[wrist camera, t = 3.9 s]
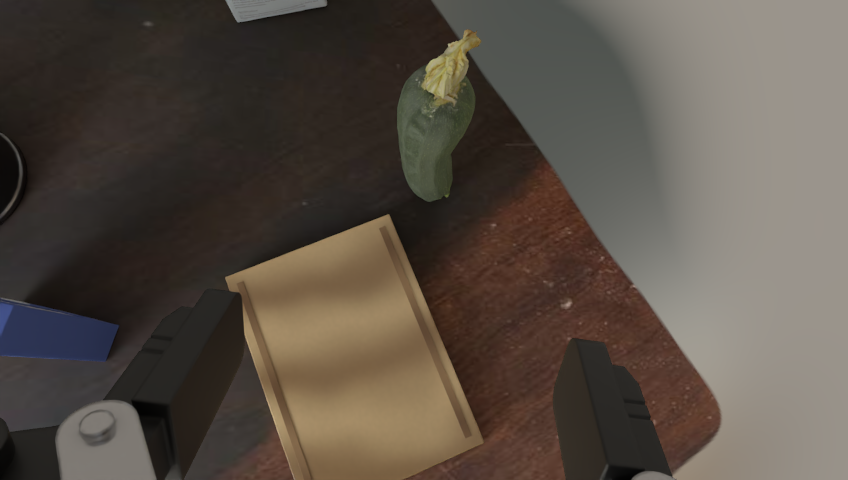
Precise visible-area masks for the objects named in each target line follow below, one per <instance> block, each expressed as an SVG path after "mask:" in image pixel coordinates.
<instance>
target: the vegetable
mask: <svg viewBox="0 0 848 480" xmlns="http://www.w3.org/2000/svg"><path fill="white" fill-rule="evenodd" d="M476 33H477V31H476V32H474V33H473V32H472V31H471V30H465V31H464V36H463V39H462V40H460V41H455V42H454V43H451V44H448V46H449V48H447V49H446V50H445V52H444V54H442V55H440V56H438V57H439V58H437V59H433V60H431V61H430V62H429V64H427V65H425V66H422V67H421V68H419V69H418V70H417V71H415V72H414V73H413V74H412V75H411V76H410V77H409V79H408V80H407V81H406V83H405V84H404V87H403V89H402V92H401V95H400V99H399V103H398V108H397V128H398V135H399V148H400V154H401V161H402V168H403V171H404V174H405V177H406V180H407V183H408V185H409V187H410V188H411V189H412V191H413V192H414V193H415V194H416V195H417V196H418V197H420V198H422V199H424V200H425V201H428V202H431V201H434V200H438V199H441V198H442V197H443V196H445V197H448V196H449V194H450V193H449V192H450V187H451V184H452V180H453V176H452V159H451V153H452V151H453V150H454V148H455V147H456V145H457V144H458V142H459V141H460V139H461V138H462V137H463V135H464V133H465V131H466V129H467V127H468V125H469V123H470V121H471V118H472V115H473V112H474V108H475V94H474V90H473V88H472V86H471V83H470V81H469V80H468V78H467V77H466V75H465V74H466V72H467V69H468V62H469V61H468V60H467V58H466V55H465V54H466V52H467V51H469V50H470V49H472V48H474V47H478V46H479V44H480V43H481V40H480V39H479V38H478V37H477V36H476Z"/></svg>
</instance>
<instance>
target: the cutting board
mask: <svg viewBox="0 0 848 480" xmlns="http://www.w3.org/2000/svg"><path fill="white" fill-rule="evenodd" d="M225 279H226V281H227V284H228V287H229V290H230V291H232V292H239V293H240V294H241V296H242V304H243V319H244V334H245V337H246V340H247V343H248V346H249V349H250V352H251V355H252V358H253V361H254V364H255V367H256V369H257V372H258V375H259V378H260V381H261V384H262V387H263V390H264V393H265V396H266V399H267V402H268V405H269V408H270V411H271V414H272V416H273V419H274V422H275V425H276V428H277V431H278V434H279V437H280V440H281V443H282V446H283V449H284V452H285V455H286V458H287V460H288V463H289V466H290V469H291V472H292V475H293V478H294V480H404V479H406V478H408V477H410V476H412V475H415V474H417V473H419V472H421V471H423V470H426V469H428V468H430V467H432V466H434V465H437V464H439V463H441V462H443V461H446V460H448V459H450V458H452V457H454V456H457V455H459V454H461V453H463V452H465V451H468V450H470V449H472V448H474V447H476V446H479V445H481V444H483V443H484V440H483V437H482V435H481V433H480V430H479V428H478V425H477V423H476V421H475V418H474V416H473V413H472V411H471V409H470V406H469V404H468V401H467V399H466V397H465V394H464V392H463V389H462V387H461V385H460V382H459V380H458V378H457V375H456V373H455V370H454V368H453V366H452V363H451V361H450V358H449V356H448V354H447V351H446V349H445V346H444V344H443V342H442V339H441V337H440V334H439V332H438V330H437V327H436V325H435V322H434V320H433V318H432V315H431V313H430V311H429V308H428V306H427V303H426V301H425V299H424V296H423V294H422V291H421V289H420V287H419V284H418V282H417V279H416V277H415V275H414V272H413V270H412V267H411V265H410V263H409V260H408V258H407V256H406V253H405V251H404V248H403V246H402V244H401V241H400V239H399V236H398V234H397V232H396V229H395V227H394V224H393V222H392V220H391V217H390V215H389V214H388V215H385V216H382V217H380V218H377V219H375V220H372V221H369V222H367V223H364V224H362V225H359V226H357V227H354V228H351V229H349V230H346V231H344V232H341V233H338V234H336V235H333V236H331V237H328V238H326V239H323V240H320V241H318V242H315V243H313V244H310V245H307V246H305V247H302V248H300V249H297V250H294V251H292V252H289V253H287V254H284V255H282V256H279V257H276V258H274V259H271V260H269V261H266V262H263V263H261V264H258V265H256V266H253V267H250V268H248V269H245V270H243V271H240V272H238V273H235V274H232V275H230V276H227V277H225Z"/></svg>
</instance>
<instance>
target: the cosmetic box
mask: <svg viewBox="0 0 848 480" xmlns="http://www.w3.org/2000/svg"><path fill="white" fill-rule="evenodd" d="M226 2H227V4H228V6H229V8H230V10H231V12H232V13H233V15H234V17H235V19H236V21H237V22H245V21H250V20H255V19H260V18H265V17H270V16H276V15H281V14H287V13H292V12H297V11H302V10H307V9H312V8H318V7H324V6H327V0H226Z"/></svg>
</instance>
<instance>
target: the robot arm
mask: <svg viewBox="0 0 848 480" xmlns="http://www.w3.org/2000/svg"><path fill="white" fill-rule="evenodd" d="M26 179H27V170H26V164H25V160H24V157H23V155H22V153H21V151H20V149H19V148H18V146H17V145H16V144H15V143H14V142H13V141H12V140H11V139H10V138H8V137H7V136H5V135H4V134H2V133H1V132H0V224H1V223H2V222H4V221H5V220H6V219H7V218H8V217H9V216H10V215H11V213H12V212H13V211H14V210H15V208H16V207H17V205H18V203H19V202H20V200H21V198H22V195H23V193H24V190H25V185H26ZM244 346H245V335H244V319H243V304H242V296H241V294H240V293H239V292H232V291H225V290H217V289H207V290H206V291H205V292H204V293H203V295H202V296H201V298H200V299H199V300H198V302H197V303H196V305H195V306H194V308H190V307H183V306H182V307H180V308H179V309H177V310H176V311H174V312H173V313H171V314H170V315H168V316H167V317H165V318H164V319H163V320H162V321H161V322H160V324H159V325H158V326H157V328H156V329H155V330H154V332H153V333H152V335H151V338H149V339H148V340H147V341H146V343H145V344H144V345H143V347H142V350H141V351H139V352H138V353H137V355H136V356H135V358H134V359H133V360H132V362H131V363H130V364H129V366H128V367H127V368H126V370H125V371H124V372H123V374H122V375H121V377H120V378H119V379H118V381H117V382H116V383H115V385H114V386H113V387H112V389H111V390H110V391H109V393H108V394H107V396H106V397H105V398H104V399H103V401H98V402H94V403H91V404H88V405H86V406H84V407H81V408H79V409H78V410H76V411H75V412H73V413H72V414H71V415H69V416H68V417H67V418H66V419H65V420H64V421H63V422H62V424H61V425H58V426H52V427H45V428H37V429H29V430H22V431H14V432H9V429H8V427H7V424H6V422H5V421H4V420H3V419H1V418H0V480H184V478H185V476H186V474H187V472H188V470H189V468H190V466H191V464H192V462H193V459H194V457H195V455H196V453H197V451H198V449H199V447H200V445H201V443H202V441H203V439H204V437H205V435H206V433H207V431H208V429H209V427H210V425H211V423H212V421H213V419H214V417H215V415H216V413H217V411H218V409H219V407H220V405H221V403H222V401H223V399H224V397H225V395H226V393H227V391H228V389H229V387H230V385H231V383H232V381H233V379H234V377H235V374H236V372H237V370H238V368H239V366H240V364H241V361H242V357H243V353H244ZM553 409H554V415H555V420H556V426H557V432H558V437H559V443H560V449H561V455H562V460H563V466H564V472H565V477H566V480H676V479H674V478H673V477H672V474H671V471H670V469H669V466H668V463H667V461H666V458H665V455H664V452H663V450H662V447H661V444H660V441H659V439H658V436H657V433H656V430H655V428H654V425H653V422H652V421H651V420H650V414H649V411H648V408H647V406H646V405H645V400H644V397H643V395H642V392H641V389H640V386H639V384H638V383H637V381H636V380H635V379H634V378H633V377H632V375H631V374H630V373H629V372H628V371H627V369H626V368H625V367H623V366H616V365H612V363H611V360H610V357H609V354H608V351H607V348H606V345H605V344H604V343H603V342H598V341H590V340H583V339H575V338H572V339H571V340H570V342H569V344H568V346H567V349H566V352H565V355H564V358H563V361H562V365H561V368H560V371H559V374H558V377H557V380H556V383H555V387H554V393H553Z"/></svg>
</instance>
